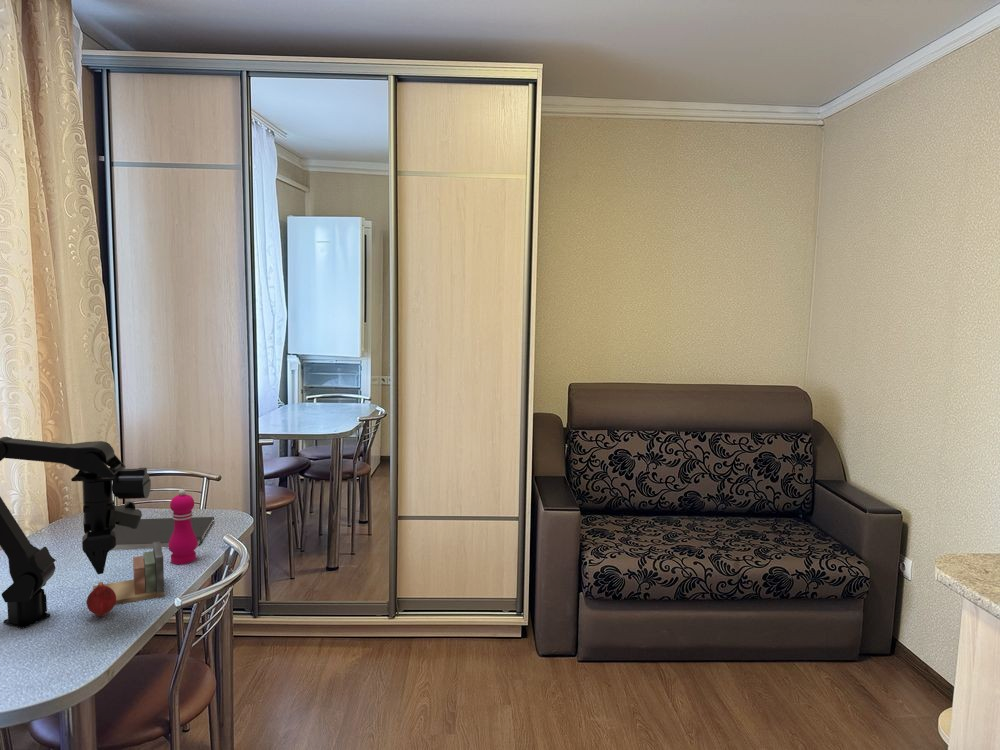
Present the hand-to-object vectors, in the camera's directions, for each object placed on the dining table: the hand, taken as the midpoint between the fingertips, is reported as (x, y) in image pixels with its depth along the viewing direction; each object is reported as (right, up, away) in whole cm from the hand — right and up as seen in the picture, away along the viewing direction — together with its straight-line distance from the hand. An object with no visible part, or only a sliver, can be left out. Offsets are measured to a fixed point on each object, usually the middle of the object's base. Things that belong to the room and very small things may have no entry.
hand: (100, 566), depth 155 cm
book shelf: (-1, -10, +13) cm, 17 cm away
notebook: (-13, -6, +51) cm, 53 cm away
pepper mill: (+3, -8, +34) cm, 35 cm away
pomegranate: (0, -12, +1) cm, 12 cm away
